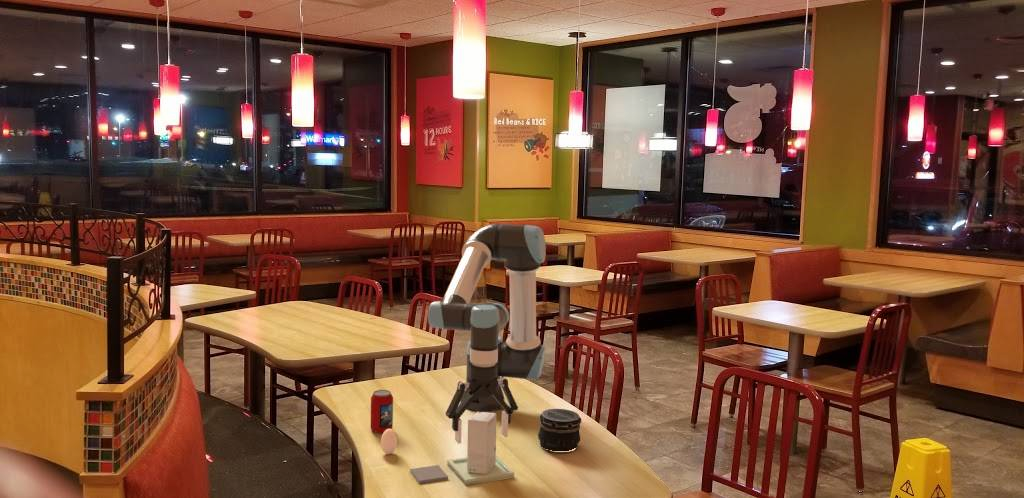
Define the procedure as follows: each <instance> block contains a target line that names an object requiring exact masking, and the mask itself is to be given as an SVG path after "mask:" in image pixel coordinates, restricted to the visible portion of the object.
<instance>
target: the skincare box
mask: <svg viewBox="0 0 1024 498" xmlns="http://www.w3.org/2000/svg"><path fill="white" fill-rule="evenodd" d="M496 451H497V413H495V412H488V411H477V412H476V413H475V414H473V415H472V416H471V417H469V419H468V420H467V451H466V452H467V455H466V457H467V472H471V473H477V474H482V475H487V474H488V472H489V471H490V470H491V469H492V468H493V466H495V464H496V456H497V452H496Z"/></svg>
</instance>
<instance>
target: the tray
mask: <svg viewBox="0 0 1024 498" xmlns="http://www.w3.org/2000/svg"><path fill="white" fill-rule="evenodd" d="M446 463H447V464H446V465H447V467H449V469H450V470H451V471H452V472H453V473H454V474H455V476H456V477H458V479H459V480H460V481H461V482H462V484H464V486H469V485H475V484H482V483H488V482H494V481H495V482H496V481H503V480H508V479H514V478H515V472H514V471H513V470H512V469H511V468H510V467H509V466H508V465H507V464H506V463H505V462H504V461H502V460H501V459H500V458H499V457H498V455H496V464H495V466H493V468H492V469H491V470H490V471H489V472H488V474H487V475H482V474H477V473H471V472H467V456H465V457H458V458H451V459H447V462H446Z"/></svg>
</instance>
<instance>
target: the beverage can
mask: <svg viewBox="0 0 1024 498" xmlns="http://www.w3.org/2000/svg"><path fill="white" fill-rule="evenodd" d="M393 418H394V397H393V395H392V392H391V391H390V390H388V389H379V390H378V389H377V390H374V391H373V394H372V395H371V397H370V429H371V430H372V431H373V432H375V433H378V434H383V433H384V432H385V430H387V429H392V430H393V427H394V426H393V424H394V423H393V422H394V419H393Z"/></svg>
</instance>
